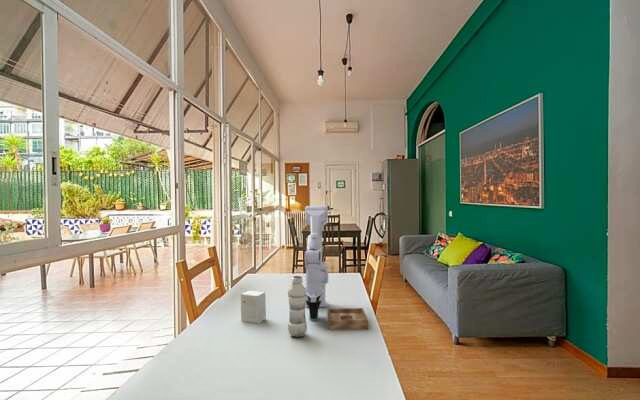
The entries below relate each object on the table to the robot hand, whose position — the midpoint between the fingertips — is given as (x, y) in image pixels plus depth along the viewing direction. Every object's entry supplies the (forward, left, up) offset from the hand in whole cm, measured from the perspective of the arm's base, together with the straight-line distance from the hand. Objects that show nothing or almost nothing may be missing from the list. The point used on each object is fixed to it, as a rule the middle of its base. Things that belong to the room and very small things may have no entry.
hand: (313, 315), depth 134 cm
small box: (-24, 0, -2) cm, 24 cm away
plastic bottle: (-6, -16, -2) cm, 17 cm away
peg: (0, 0, -2) cm, 2 cm away
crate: (+12, -4, -2) cm, 13 cm away
